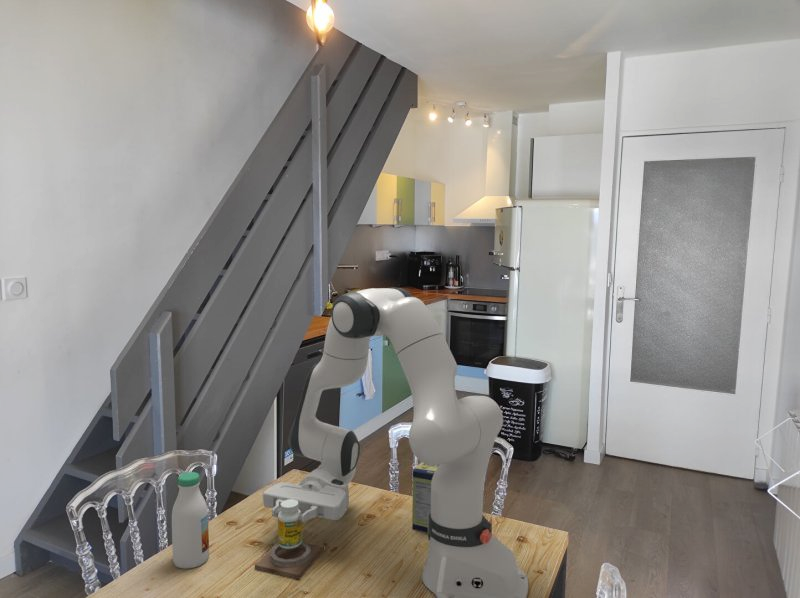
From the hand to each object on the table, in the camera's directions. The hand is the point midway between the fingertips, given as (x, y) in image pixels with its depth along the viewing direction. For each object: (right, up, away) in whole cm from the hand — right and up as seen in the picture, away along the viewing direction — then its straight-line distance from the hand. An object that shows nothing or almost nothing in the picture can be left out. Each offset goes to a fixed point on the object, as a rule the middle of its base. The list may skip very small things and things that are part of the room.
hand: (287, 516), depth 128 cm
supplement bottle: (0, -7, +2) cm, 7 cm away
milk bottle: (-22, -11, +1) cm, 25 cm away
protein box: (+36, -9, +21) cm, 42 cm away
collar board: (0, -11, +2) cm, 11 cm away
